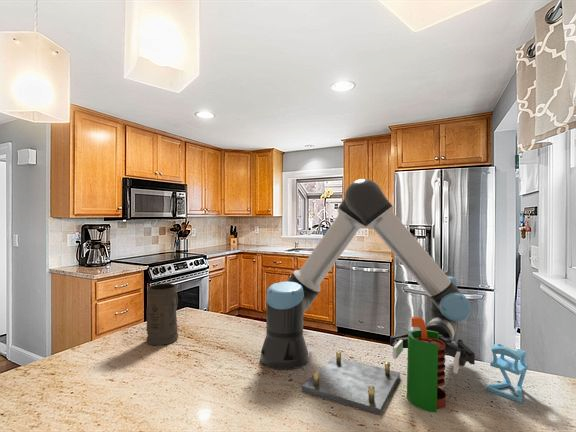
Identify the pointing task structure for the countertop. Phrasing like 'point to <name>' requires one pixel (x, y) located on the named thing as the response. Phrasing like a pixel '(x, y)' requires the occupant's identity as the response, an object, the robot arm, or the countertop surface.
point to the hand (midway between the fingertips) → (423, 359)
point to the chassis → (353, 384)
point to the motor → (425, 368)
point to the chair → (508, 369)
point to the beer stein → (162, 314)
